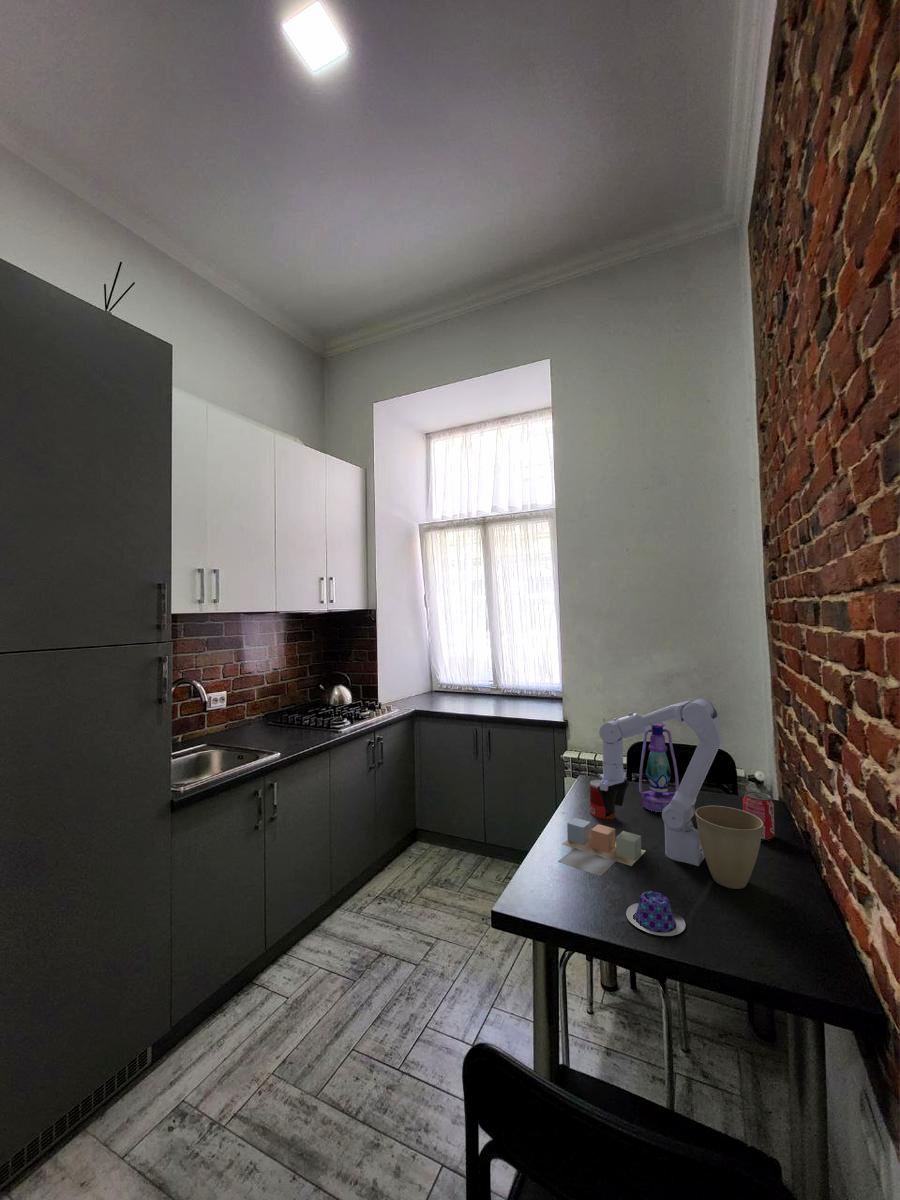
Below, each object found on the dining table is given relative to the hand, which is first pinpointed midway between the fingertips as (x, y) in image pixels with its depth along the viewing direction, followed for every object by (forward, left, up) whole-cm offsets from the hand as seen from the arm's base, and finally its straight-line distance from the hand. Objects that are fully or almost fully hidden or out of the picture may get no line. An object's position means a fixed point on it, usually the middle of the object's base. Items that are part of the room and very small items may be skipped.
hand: (614, 808), depth 147 cm
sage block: (-7, +8, -8) cm, 14 cm away
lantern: (-2, -34, -10) cm, 35 cm away
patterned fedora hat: (-22, +32, -10) cm, 40 cm away
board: (0, +12, -9) cm, 16 cm away
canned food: (+10, -14, -10) cm, 20 cm away
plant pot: (-31, +4, -10) cm, 33 cm away
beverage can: (-32, -30, -10) cm, 45 cm away
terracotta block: (0, +8, -8) cm, 12 cm away
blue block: (+7, +8, -8) cm, 14 cm away
